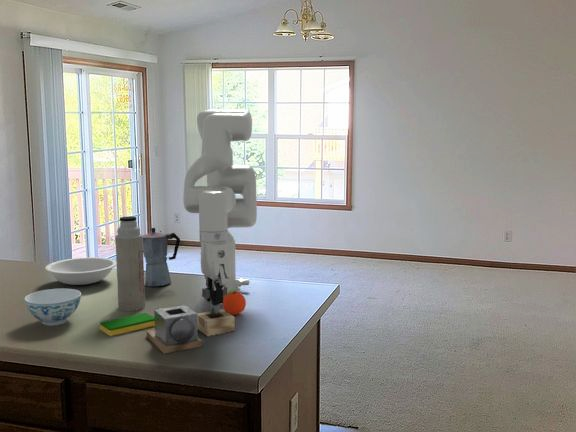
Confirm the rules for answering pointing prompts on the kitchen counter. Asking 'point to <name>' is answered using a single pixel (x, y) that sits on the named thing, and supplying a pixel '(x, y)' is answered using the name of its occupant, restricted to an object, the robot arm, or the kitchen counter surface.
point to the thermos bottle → (130, 265)
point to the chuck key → (213, 308)
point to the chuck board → (172, 347)
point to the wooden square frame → (215, 323)
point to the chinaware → (53, 305)
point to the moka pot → (157, 257)
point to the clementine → (234, 303)
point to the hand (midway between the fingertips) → (214, 301)
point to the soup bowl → (81, 270)
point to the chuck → (176, 325)
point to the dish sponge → (127, 324)
